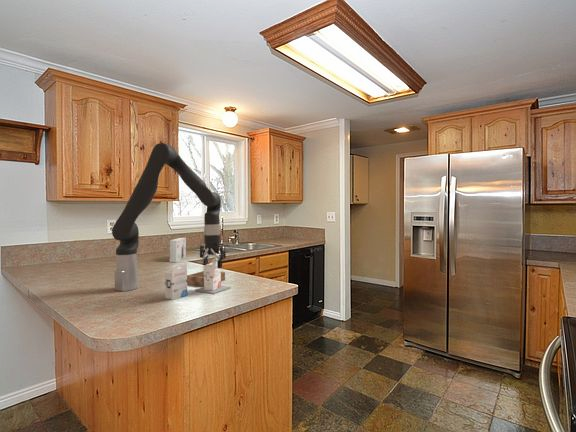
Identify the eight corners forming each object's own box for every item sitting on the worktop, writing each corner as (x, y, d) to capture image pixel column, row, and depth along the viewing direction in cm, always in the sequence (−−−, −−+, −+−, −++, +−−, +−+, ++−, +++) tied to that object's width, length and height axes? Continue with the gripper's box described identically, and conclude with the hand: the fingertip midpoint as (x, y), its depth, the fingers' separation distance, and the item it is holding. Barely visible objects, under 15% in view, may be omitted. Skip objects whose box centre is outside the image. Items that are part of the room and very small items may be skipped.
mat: (214, 294, 148) (214, 292, 148) (194, 291, 153) (194, 289, 153) (231, 288, 158) (231, 286, 158) (212, 285, 164) (212, 284, 164)
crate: (225, 280, 175) (224, 272, 175) (204, 286, 161) (203, 278, 161) (207, 277, 181) (207, 270, 181) (186, 284, 167) (185, 275, 167)
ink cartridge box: (212, 285, 161) (211, 256, 160) (221, 286, 159) (220, 256, 159) (203, 290, 152) (202, 259, 152) (213, 290, 151) (212, 259, 151)
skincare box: (177, 262, 233) (176, 240, 232) (169, 262, 233) (168, 240, 232) (186, 257, 254) (186, 237, 253) (179, 257, 254) (179, 237, 253)
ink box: (180, 293, 149) (180, 262, 148) (188, 295, 146) (187, 262, 146) (164, 298, 141) (164, 265, 141) (172, 300, 139) (171, 266, 138)
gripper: (195, 233, 155) (196, 267, 156) (218, 235, 148) (219, 270, 149) (206, 232, 162) (207, 265, 162) (228, 233, 155) (229, 267, 155)
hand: (212, 267), depth 155 cm, fingers open, 8 cm apart
